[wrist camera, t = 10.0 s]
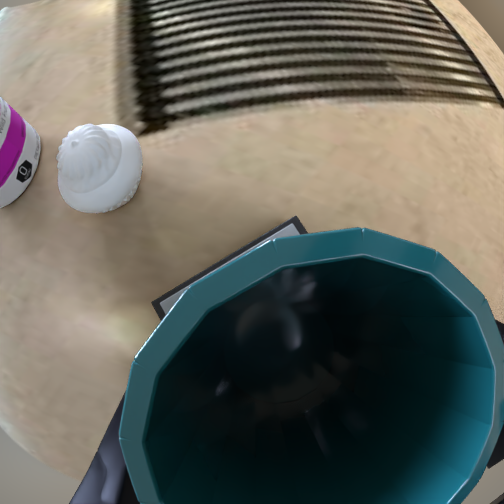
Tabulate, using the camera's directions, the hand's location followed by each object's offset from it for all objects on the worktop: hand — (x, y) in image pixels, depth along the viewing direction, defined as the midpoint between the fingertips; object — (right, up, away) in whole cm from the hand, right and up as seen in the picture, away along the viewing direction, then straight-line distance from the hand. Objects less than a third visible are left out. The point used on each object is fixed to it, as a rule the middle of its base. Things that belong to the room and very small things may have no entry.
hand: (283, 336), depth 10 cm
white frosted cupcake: (-11, +7, +11) cm, 17 cm away
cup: (+1, -3, +7) cm, 7 cm away
